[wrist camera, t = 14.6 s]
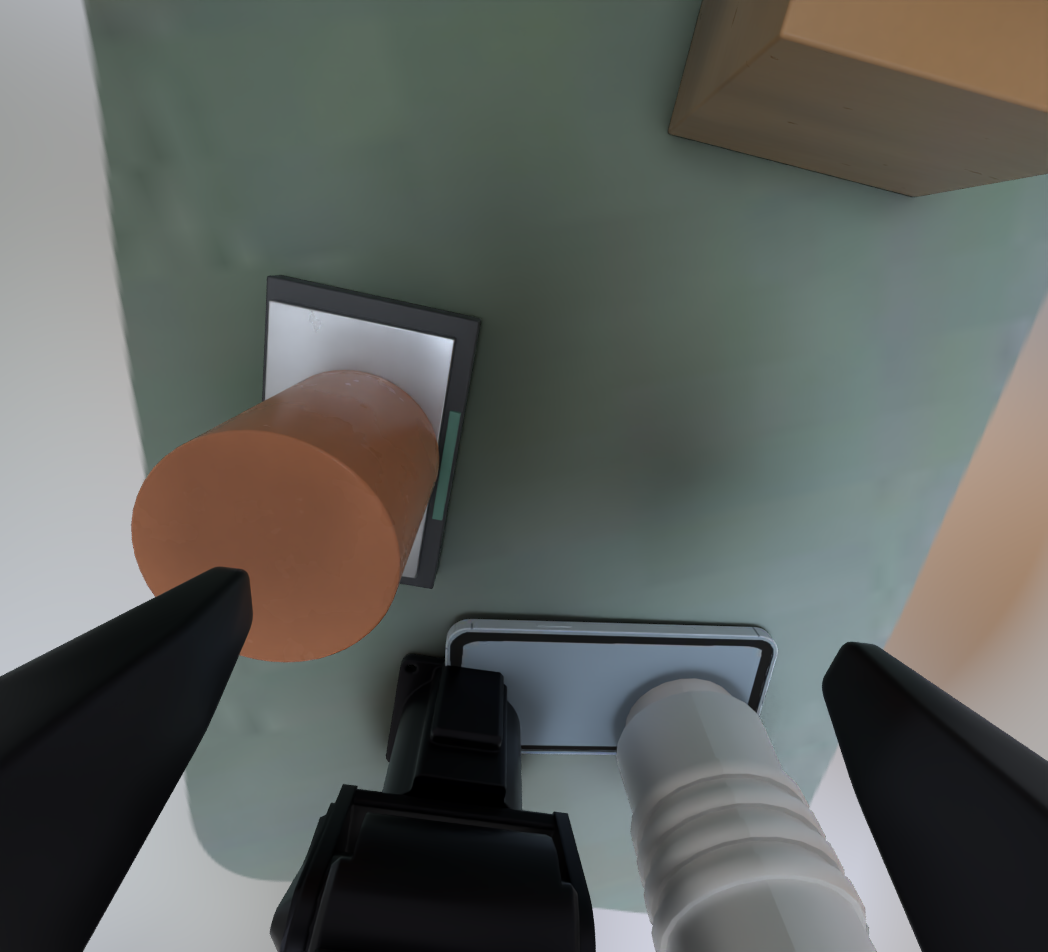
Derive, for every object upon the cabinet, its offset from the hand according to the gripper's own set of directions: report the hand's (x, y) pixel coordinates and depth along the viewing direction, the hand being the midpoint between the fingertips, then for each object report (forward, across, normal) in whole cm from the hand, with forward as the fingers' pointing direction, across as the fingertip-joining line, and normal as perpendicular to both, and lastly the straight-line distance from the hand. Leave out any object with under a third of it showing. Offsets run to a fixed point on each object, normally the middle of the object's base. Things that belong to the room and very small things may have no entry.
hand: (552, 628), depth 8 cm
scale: (+13, +6, +4) cm, 15 cm away
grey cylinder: (+12, -10, +15) cm, 22 cm away
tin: (+12, +6, +4) cm, 14 cm away
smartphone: (+12, -6, +14) cm, 20 cm away
